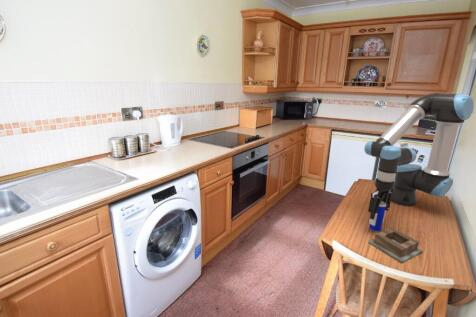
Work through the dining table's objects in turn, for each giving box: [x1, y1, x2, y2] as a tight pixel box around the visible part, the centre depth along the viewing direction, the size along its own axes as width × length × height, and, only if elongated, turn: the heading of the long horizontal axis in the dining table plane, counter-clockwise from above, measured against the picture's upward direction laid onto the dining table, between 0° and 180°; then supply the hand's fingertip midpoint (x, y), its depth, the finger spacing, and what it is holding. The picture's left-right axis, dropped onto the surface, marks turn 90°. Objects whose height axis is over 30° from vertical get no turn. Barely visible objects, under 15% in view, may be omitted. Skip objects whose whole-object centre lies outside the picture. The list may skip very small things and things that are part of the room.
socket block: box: [368, 227, 424, 264], centre depth 110 cm, size 15×15×5 cm
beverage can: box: [368, 201, 386, 233], centre depth 121 cm, size 5×5×15 cm
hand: (376, 222), depth 122 cm, fingers open, 6 cm apart
